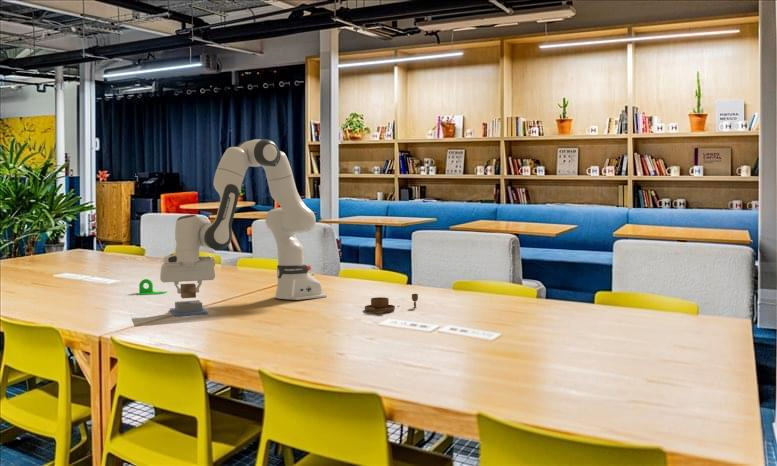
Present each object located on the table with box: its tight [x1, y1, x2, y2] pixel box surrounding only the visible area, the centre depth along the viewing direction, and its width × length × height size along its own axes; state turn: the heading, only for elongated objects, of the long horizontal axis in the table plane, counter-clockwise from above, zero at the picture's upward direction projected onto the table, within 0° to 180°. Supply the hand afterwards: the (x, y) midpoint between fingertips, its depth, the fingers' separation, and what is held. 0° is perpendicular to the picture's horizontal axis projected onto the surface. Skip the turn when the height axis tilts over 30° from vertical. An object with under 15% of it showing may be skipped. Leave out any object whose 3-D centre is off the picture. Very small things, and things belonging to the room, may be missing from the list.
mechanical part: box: [137, 278, 169, 296], centre depth 302 cm, size 12×6×8 cm, turn 99°
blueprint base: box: [169, 299, 209, 317], centre depth 257 cm, size 12×16×4 cm
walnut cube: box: [180, 282, 197, 299], centre depth 257 cm, size 5×5×5 cm
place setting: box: [364, 293, 419, 314], centre depth 259 cm, size 18×20×6 cm
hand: (188, 292), depth 257 cm, fingers closed on walnut cube, 5 cm apart
